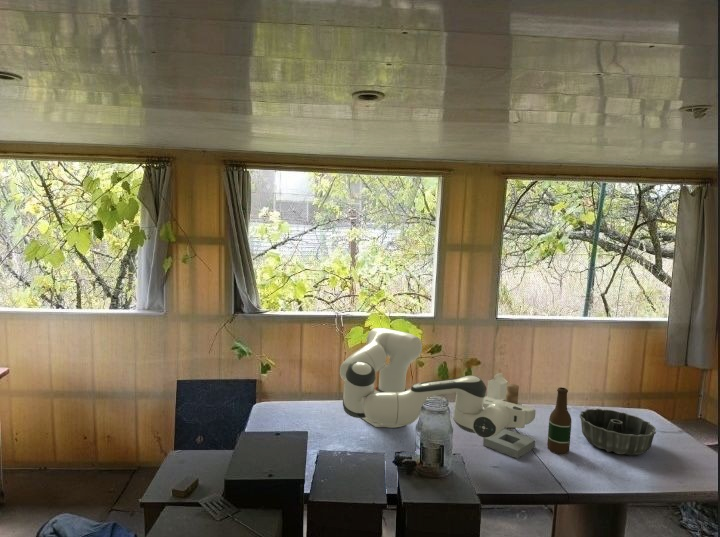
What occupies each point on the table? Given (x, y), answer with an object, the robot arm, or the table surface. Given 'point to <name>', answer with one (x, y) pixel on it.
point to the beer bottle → (559, 425)
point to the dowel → (512, 395)
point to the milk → (497, 387)
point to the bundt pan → (617, 431)
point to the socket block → (510, 443)
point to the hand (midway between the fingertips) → (512, 402)
